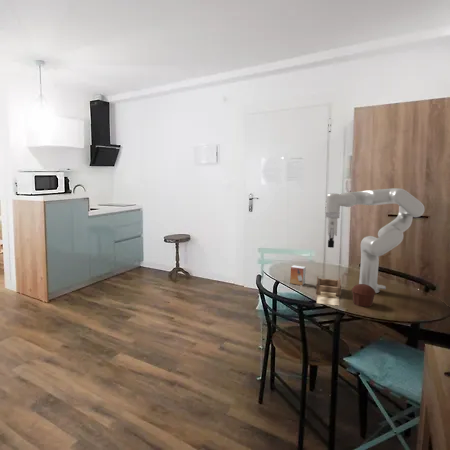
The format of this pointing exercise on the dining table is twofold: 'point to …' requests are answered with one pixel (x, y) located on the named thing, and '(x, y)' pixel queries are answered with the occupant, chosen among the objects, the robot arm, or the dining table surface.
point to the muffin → (363, 295)
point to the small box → (297, 275)
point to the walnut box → (328, 286)
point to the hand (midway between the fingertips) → (330, 247)
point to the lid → (328, 298)
